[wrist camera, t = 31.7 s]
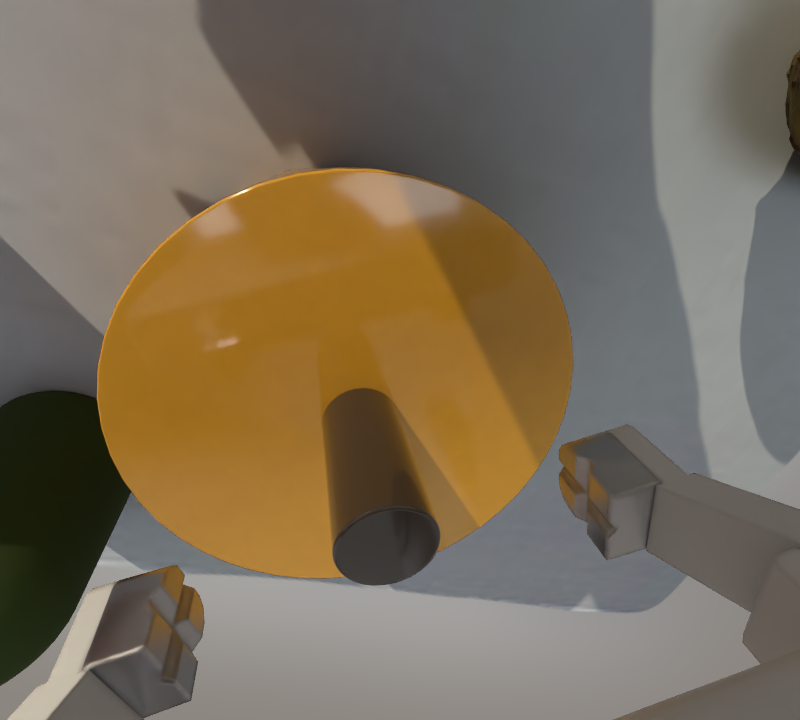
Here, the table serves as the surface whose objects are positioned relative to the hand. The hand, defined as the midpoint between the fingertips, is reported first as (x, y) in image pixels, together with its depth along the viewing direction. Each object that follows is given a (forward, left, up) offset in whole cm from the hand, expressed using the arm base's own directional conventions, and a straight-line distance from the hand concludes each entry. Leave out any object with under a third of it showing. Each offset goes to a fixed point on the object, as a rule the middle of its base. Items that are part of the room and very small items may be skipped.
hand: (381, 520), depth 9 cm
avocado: (-5, -13, -12) cm, 18 cm away
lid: (+1, -1, -6) cm, 6 cm away
